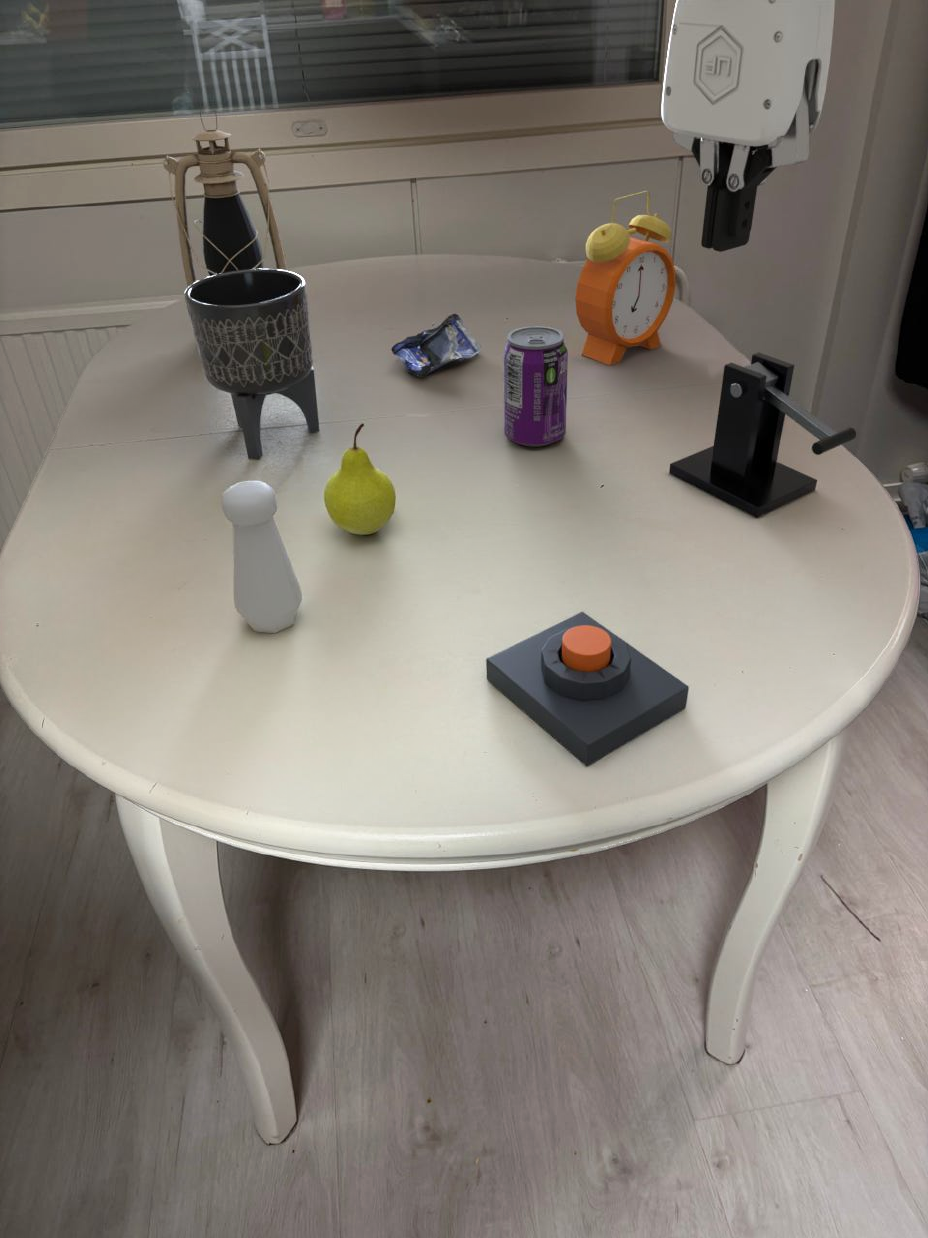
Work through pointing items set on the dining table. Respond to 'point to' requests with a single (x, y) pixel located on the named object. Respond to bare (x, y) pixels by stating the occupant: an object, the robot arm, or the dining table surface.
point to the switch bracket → (747, 445)
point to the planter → (255, 343)
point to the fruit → (359, 493)
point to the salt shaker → (260, 559)
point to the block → (586, 691)
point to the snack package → (436, 346)
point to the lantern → (223, 208)
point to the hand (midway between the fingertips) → (724, 245)
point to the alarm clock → (625, 287)
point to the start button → (586, 648)
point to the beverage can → (535, 385)
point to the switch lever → (802, 415)
